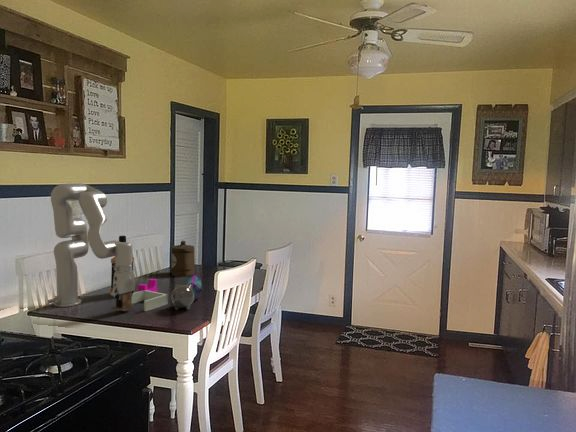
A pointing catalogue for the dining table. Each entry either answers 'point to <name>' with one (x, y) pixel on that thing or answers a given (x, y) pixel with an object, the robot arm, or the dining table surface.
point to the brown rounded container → (183, 260)
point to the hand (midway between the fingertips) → (123, 305)
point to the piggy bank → (182, 296)
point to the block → (126, 301)
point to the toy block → (149, 286)
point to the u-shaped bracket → (150, 299)
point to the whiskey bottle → (121, 239)
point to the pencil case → (195, 285)
